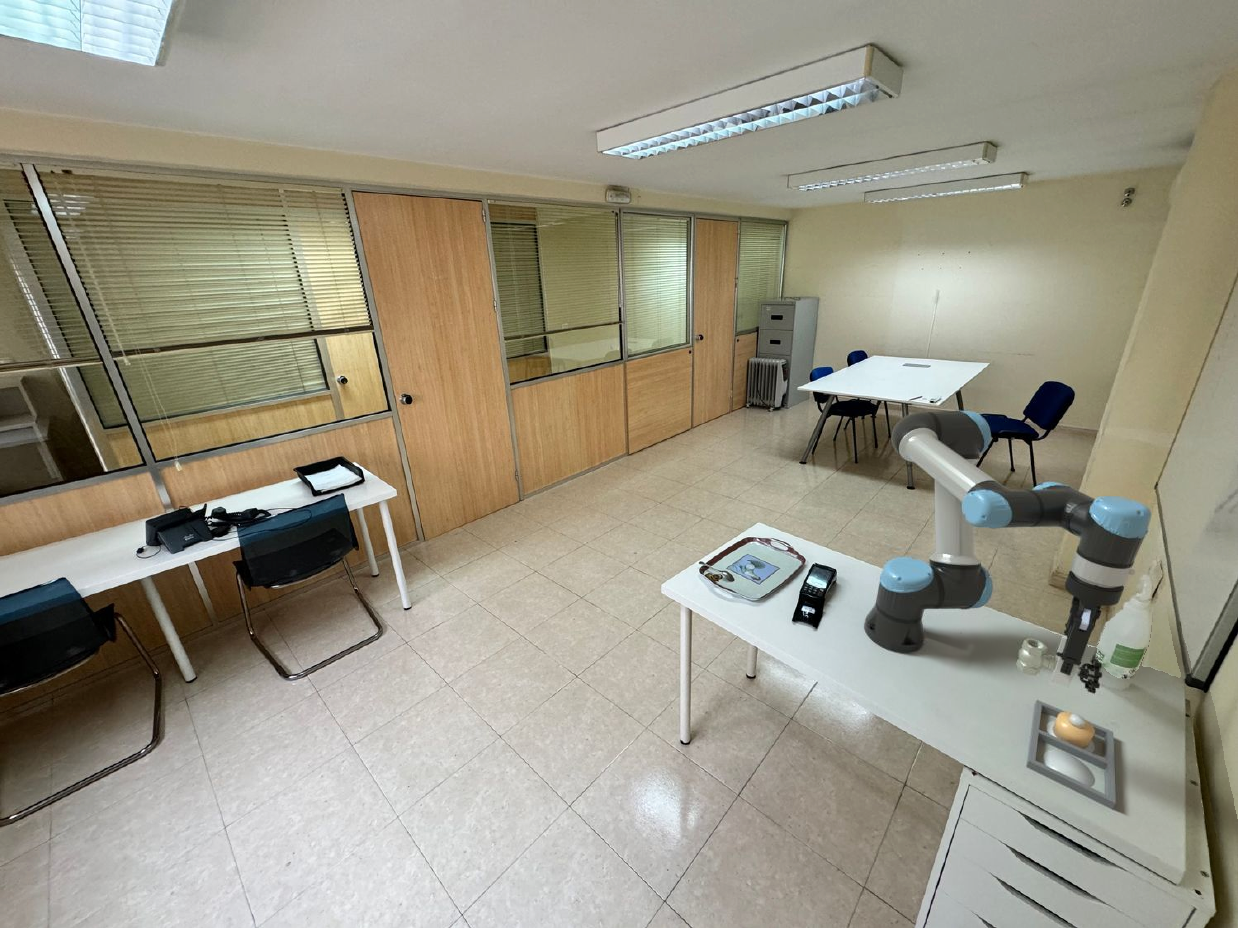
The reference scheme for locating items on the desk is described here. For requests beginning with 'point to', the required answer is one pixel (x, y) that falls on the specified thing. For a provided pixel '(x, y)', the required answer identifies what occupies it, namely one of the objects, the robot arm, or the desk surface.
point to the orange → (1073, 729)
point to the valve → (1035, 658)
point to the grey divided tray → (1072, 759)
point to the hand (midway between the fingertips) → (1061, 673)
